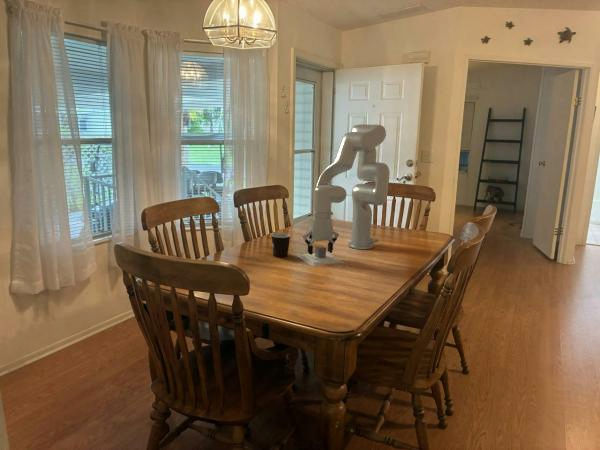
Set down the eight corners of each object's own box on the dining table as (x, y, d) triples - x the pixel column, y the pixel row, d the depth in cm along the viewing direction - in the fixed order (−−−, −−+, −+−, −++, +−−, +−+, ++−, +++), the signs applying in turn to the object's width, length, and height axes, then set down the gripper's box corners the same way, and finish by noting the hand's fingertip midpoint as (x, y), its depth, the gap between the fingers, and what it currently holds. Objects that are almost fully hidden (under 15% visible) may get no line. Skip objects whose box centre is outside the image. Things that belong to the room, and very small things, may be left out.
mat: (327, 253, 210) (328, 252, 210) (344, 263, 195) (344, 262, 195) (296, 256, 203) (296, 255, 203) (311, 267, 189) (311, 265, 189)
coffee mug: (287, 260, 198) (288, 238, 196) (268, 258, 200) (269, 236, 198) (293, 253, 209) (293, 232, 207) (275, 251, 211) (275, 231, 209)
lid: (326, 254, 208) (327, 242, 206) (340, 261, 196) (340, 249, 195) (301, 256, 202) (301, 244, 201) (313, 264, 191) (313, 252, 190)
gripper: (335, 212, 202) (333, 249, 205) (300, 214, 195) (299, 252, 198) (343, 215, 195) (341, 253, 199) (307, 217, 188) (306, 256, 192)
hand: (320, 252), depth 198 cm, fingers open, 9 cm apart
